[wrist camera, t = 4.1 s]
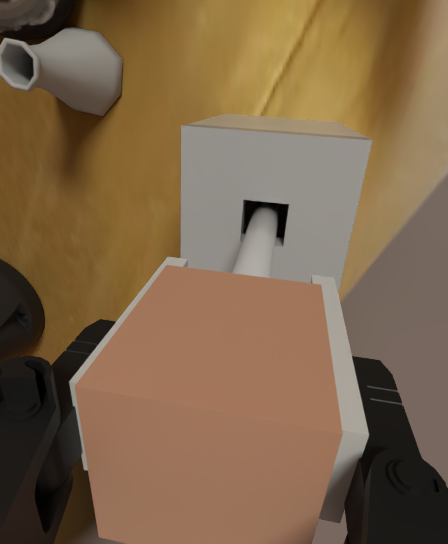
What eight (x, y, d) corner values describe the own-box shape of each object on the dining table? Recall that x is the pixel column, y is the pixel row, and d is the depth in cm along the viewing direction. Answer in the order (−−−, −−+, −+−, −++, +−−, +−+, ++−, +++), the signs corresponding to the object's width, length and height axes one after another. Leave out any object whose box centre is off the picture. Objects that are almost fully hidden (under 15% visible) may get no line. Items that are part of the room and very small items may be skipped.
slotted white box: (319, 228, 37) (334, 308, 23) (221, 218, 38) (180, 287, 24) (339, 121, 32) (372, 140, 19) (227, 113, 34) (181, 125, 20)
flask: (136, 54, 33) (78, 39, 24) (109, 129, 36) (49, 140, 27) (64, 10, 32) (-23, -23, 23) (43, 90, 36) (-40, 88, 27)
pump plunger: (295, 241, 25) (299, 583, 8) (233, 234, 26) (98, 537, 8) (305, 177, 23) (343, 433, 6) (237, 170, 24) (74, 386, 6)
